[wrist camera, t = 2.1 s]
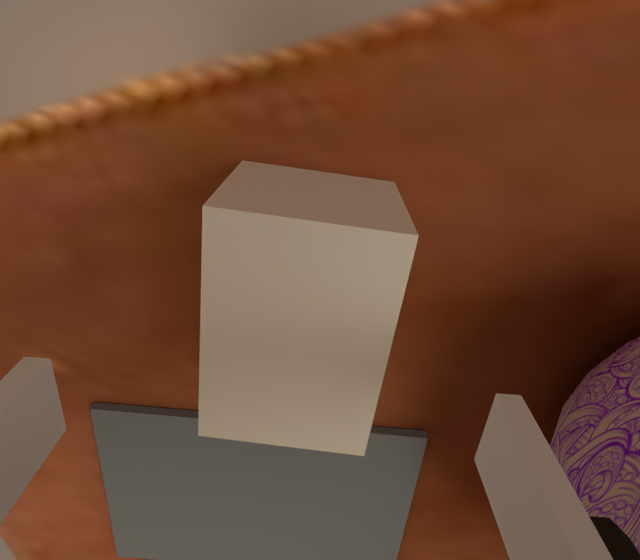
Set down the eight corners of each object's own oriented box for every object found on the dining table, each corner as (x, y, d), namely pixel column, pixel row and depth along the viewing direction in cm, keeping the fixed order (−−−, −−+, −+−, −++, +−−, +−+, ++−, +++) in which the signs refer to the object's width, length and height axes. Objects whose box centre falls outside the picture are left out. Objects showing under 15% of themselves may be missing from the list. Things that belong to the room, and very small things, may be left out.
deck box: (242, 159, 21) (202, 205, 14) (394, 181, 21) (418, 235, 15) (232, 340, 25) (197, 435, 19) (357, 356, 25) (363, 456, 19)
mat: (426, 430, 27) (427, 438, 27) (390, 570, 34) (391, 579, 33) (94, 402, 27) (89, 408, 27) (120, 548, 34) (117, 556, 33)
